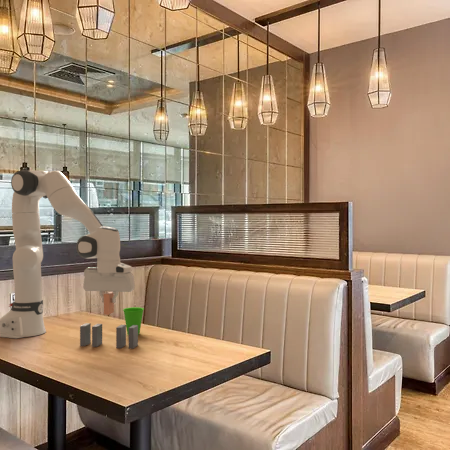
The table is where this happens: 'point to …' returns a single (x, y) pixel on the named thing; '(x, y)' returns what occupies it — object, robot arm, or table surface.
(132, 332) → the domino
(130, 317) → the cup
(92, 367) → the table surface
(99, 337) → the domino
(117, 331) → the domino
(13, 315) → the robot arm
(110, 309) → the domino
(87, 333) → the domino
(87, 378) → the table surface
